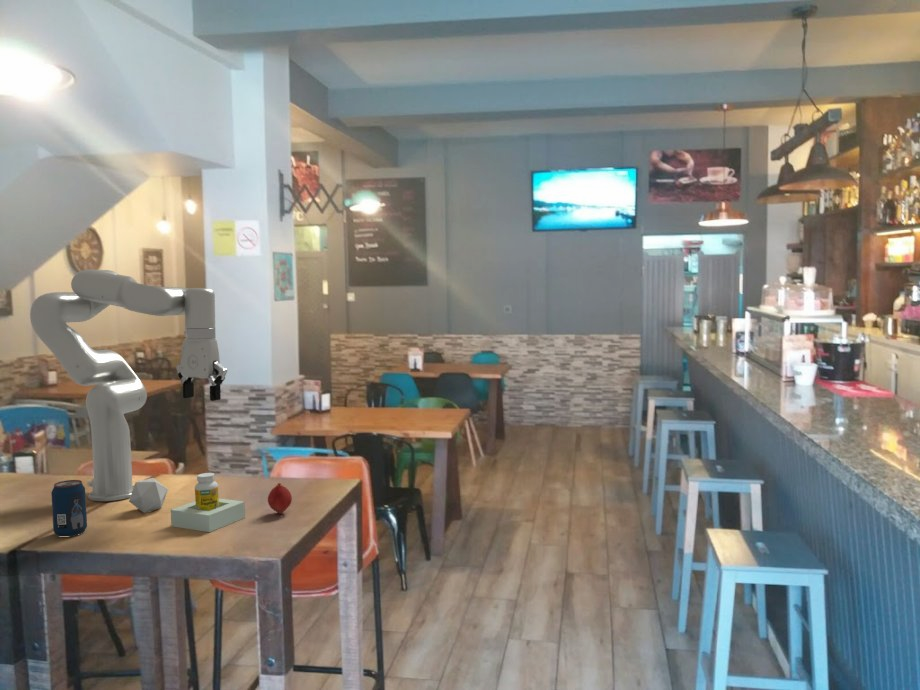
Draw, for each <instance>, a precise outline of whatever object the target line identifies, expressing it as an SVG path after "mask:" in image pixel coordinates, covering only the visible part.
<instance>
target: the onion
mask: <svg viewBox="0 0 920 690" xmlns="http://www.w3.org/2000/svg"><path fill="white" fill-rule="evenodd" d="M292 501H293V496H292V493H291V492H290V490H289V489H288V488H287V487H286V486H284V485H283V484H282V482H277V484H276V485H275V486H274V487H273V488H272V489H271V490H270V492H269V493H268V497H267V503H268V505H269V507H270V508H271V509H272V510H273V511H274V512H276V513H277V514H280V515H281V514H283V513H284V512H285V511H286V510H287V509H288V508H289V507H290V506H291V503H292Z"/></svg>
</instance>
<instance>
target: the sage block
mask: <svg viewBox="0 0 920 690" xmlns="http://www.w3.org/2000/svg"><path fill="white" fill-rule="evenodd" d="M245 506H246V505H245V501H242V500H235V499H227V498H220V497H219V508H216V509H213V510H211V511H203V510H196V501H194V500H193V501H191V502H188V503H185V504H182V505H180V506H177V507H174V508H171V509H170V522H171V523H170V524H171V527H174V528H179V529H185V530H186V529H187V530H193V531H200V532H205V533H211V532H215V531H216V530H219V529H221V528H223V527H226V526H229V525H231V524H233V523H235V522H238V521H240V520H241V521H242V520H243V519H245V518H246V508H245Z"/></svg>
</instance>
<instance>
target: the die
mask: <svg viewBox="0 0 920 690" xmlns="http://www.w3.org/2000/svg"><path fill="white" fill-rule="evenodd" d="M133 486H134V488H133V491H132V494H131V497H129V499H128V502H129V503H131V505H133V506H134V507H136V508H137V509H138V510H140V511H141V512H142V513H143V514H146V512H147V513H150V512H153V511H156V509H157V510H159V508H160V509H162V507H163V506H164V501H165V500H166V497H167V493H168V490H169V489H168V487H166V486H165V485H164V484H162V483H160V482H159V481H158V480H156V478H154V477H151V478H147V479H142V480H139V481H135V482H134V485H133Z"/></svg>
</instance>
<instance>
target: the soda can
mask: <svg viewBox="0 0 920 690" xmlns="http://www.w3.org/2000/svg"><path fill="white" fill-rule="evenodd" d="M50 494H51V508H52V509H51V510H52V512H51V514H52V526H53V528H52V529H53V530H52V531H53V533H54V534H55V535H56V536H57V535H58V536H73V537H75V536H74V535H77V536H79V535H78V534H80V535H82V534H84V533H83V532H85V531H86V529H87V527H88V517H87V502H86V501H87V499H86V498H87V497H86V488H85V485H84V484H83V481H82V480H80V479H67V480H62V481H58V482H55V483H54V484H53V488H52V491H51V493H50ZM81 533H82V534H81ZM58 536H57V537H58Z"/></svg>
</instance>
